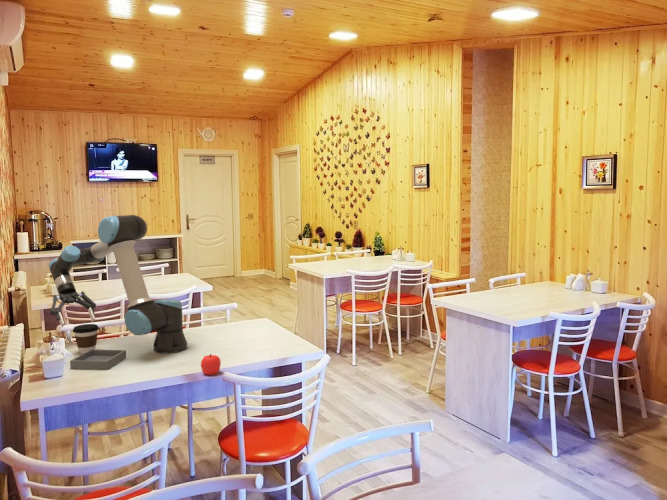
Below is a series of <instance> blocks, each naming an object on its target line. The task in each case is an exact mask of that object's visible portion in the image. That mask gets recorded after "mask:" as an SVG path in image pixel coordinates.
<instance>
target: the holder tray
mask: <svg viewBox="0 0 667 500" xmlns="http://www.w3.org/2000/svg"><path fill="white" fill-rule="evenodd" d="M125 359H127V351H126V350H125V349H95V350H89V351H87V352H86V353H84V354H79V355H78V356H77V357H74V358H73V359H71V360H69V365H70V366H69V368H70V370H92V371H93V370H96V371H97V370H98V371H99V370H101V371H102V370H103V371H108V370H110V369H111V368H113V367H115V366H116V365H118V364H119V363H122V361H124V360H125Z"/></svg>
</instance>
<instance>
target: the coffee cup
mask: <svg viewBox="0 0 667 500" xmlns="http://www.w3.org/2000/svg"><path fill="white" fill-rule="evenodd" d="M99 330H100V327H99V325H98V324H96V323H86V324H85V323H84V324H79V325H75V326H74V327H73V328H72V332H73V334H74V338H75V343H76V346H77V349H78V352H79V355H82V354H84V353H86V352H87V351H89V350H96V345H97V341H98V331H99Z"/></svg>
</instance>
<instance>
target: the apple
mask: <svg viewBox="0 0 667 500" xmlns="http://www.w3.org/2000/svg"><path fill="white" fill-rule="evenodd" d="M200 367H201V372H202V373H203V374H204V375H207V376H213V375H217V374H218V373H219V372H220V369H221V359H220V357H219V356H218V355H215V354H212V353H210V354H209V355H204V356H203V358H202V360H201V362H200Z"/></svg>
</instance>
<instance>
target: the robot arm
mask: <svg viewBox="0 0 667 500" xmlns="http://www.w3.org/2000/svg"><path fill="white" fill-rule="evenodd" d="M147 232H148V225H147V222H146V220H144V219H143V218H142V217H141V216H139V215H135V214H129V215H127V214H126V215H125V214H124V215H111V216H105V217H103V218H102V219H101V221H100V222H99V225H98V227H97V236H98V239H99V241H98V242H96V243H95V244H93V245H91V246H90V247H86V248H79V247H77V246H76V245H74V246H73V245H67V246H65V248H64V249H63V250H61V253H60V254H59V256H58V258H57V257H56V258H53V259H52V260H51V261H49V263H48V267H49V271H50V274H51V277H52V279H53V282H54V284H55V288H56V290H57V293H58V295H56V294H54V295H53V296H52V305H51V309H50V312H49V315H50V316H54V317H55V319H56V321H59V324H60V327H61V328H64V326H65V322H64V318H63V316H62V313H61V310H62V308H63V307H64V306H65V304H67V305H68V304H69V305H70V304H74V303H75V304H77V305H80V306H82V307H84V308H85V309H86V310H87V312H88V315H89V318H90V320H91V322H92V323H93V322H95V319H96V317H95V309H96V307H97V304H96V303H95V302H94V301H93V300H92V299H91V298H90V297H89V296H88V295H86V293H85V291H81V292H79V293H78V292H77V290H76V286H75V285H74V281H73V278H72V277H71V273H70V271H71V270H72V268H73V267H74V266H78V265H84V264H92V263H94V264H95V263H100V262H102V261H103V260H105V257H107V256H108V255H110V254H111V253H113V255H114V258H115V262H116V266H117V268H118V271H119V274H120V278H121V281H122V284H123V287H124V291H125V294H126V298H127V301H128V305H127V306H126V310H127V312H125V315H124V324H125V327H126V328H127V330H128V331H129V332H130V333H132V334H133V335H135V336H144V335H148V334H151V333H154V332H156V334H155V338H154V341H153V345H152V347H153V352H155V353H158V354H172V353H179V352H183V351H185V350H186V349H188V341H187V339H186V336H185V334H184V331H183V330H184V326H183V325H184V324H183V307H182V302H181V301H180V300H178V299H167V298H160V299H156V300H154V298H151V297H150V296H149V292H148V289H147V286H146V283H145V280H144V277H143V273H142V270H141V267H140V264H139V261H138V256H137V254H136V251H135V247H134V246H135V244H136V243H137V242H138V241H140V240H141V239H144V237H145V236H146V235H147ZM59 300H60V301H61V302H60V304H59V305H58V306H57V308H56V305H57V302H58V301H59Z"/></svg>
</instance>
